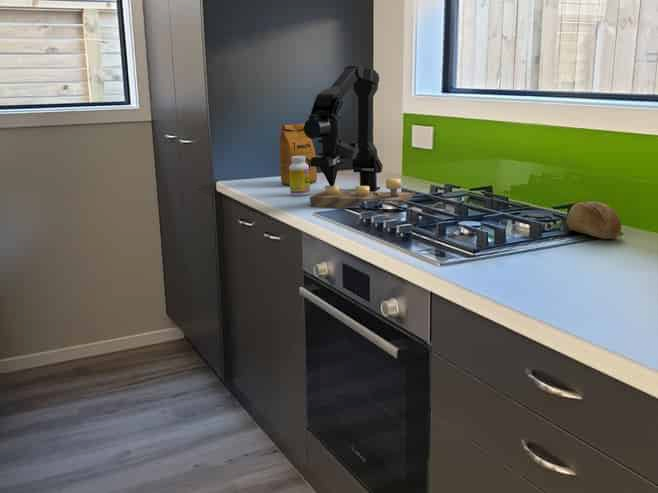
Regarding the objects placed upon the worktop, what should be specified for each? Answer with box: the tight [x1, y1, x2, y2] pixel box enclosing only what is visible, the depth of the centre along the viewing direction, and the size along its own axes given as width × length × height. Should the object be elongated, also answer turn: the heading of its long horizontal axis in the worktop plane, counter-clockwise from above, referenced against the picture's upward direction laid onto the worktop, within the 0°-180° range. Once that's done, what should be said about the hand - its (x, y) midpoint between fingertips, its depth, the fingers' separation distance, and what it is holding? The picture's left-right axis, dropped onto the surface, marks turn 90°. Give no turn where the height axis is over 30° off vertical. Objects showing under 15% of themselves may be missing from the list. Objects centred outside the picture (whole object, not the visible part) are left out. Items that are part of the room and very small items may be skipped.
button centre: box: [354, 185, 370, 196], centre depth 210 cm, size 4×4×5 cm
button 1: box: [324, 184, 340, 195], centre depth 214 cm, size 4×4×5 cm
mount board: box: [309, 189, 417, 209], centre depth 211 cm, size 30×12×3 cm, turn 67°
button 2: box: [385, 178, 402, 197], centre depth 206 cm, size 4×4×5 cm
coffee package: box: [278, 122, 318, 186], centre depth 251 cm, size 10×12×22 cm
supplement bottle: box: [289, 156, 311, 197], centre depth 231 cm, size 7×7×13 cm
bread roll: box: [566, 201, 622, 240], centre depth 163 cm, size 10×15×8 cm, turn 19°
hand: (332, 185), depth 214 cm, fingers closed
